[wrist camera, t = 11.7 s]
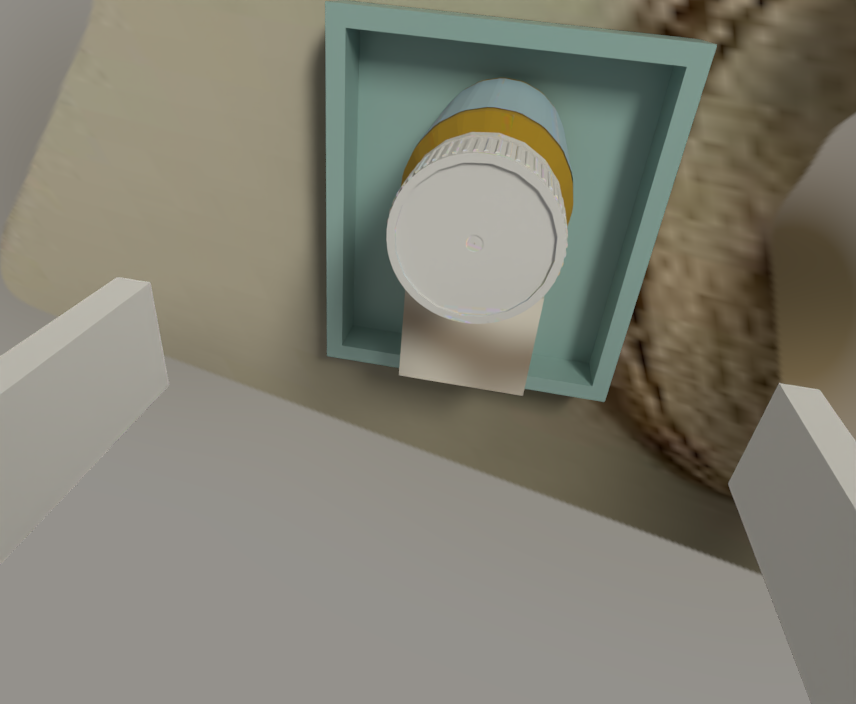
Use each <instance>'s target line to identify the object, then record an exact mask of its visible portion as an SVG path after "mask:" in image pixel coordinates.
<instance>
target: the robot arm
mask: <svg viewBox="0 0 856 704" xmlns="http://www.w3.org/2000/svg"><path fill="white" fill-rule="evenodd" d="M168 386H169V380H168V375H167V369H166V365H165V359H164V353H163V348H162V342H161V337H160V331H159V326H158V320H157V315H156V310H155V304H154V299H153V293H152V288H151V282H146V281H139V280H133V279H127V278H121V277H117V278H115V279H114V280H112V281H111V282H109V283H108V284H106V285H105V286H103V287H102V288H100V289H99V290H97V291H96V292H94V293H93V294H92V295H90V296H89V297H87V298H86V299H84V300H83V301H81V302H80V303H78V304H77V305H75V306H74V307H72V308H71V309H69V310H68V311H66V312H65V313H63V314H62V315H60V316H59V317H58V318H56V319H55V320H53V321H52V322H50V323H49V324H47V325H46V326H44V327H43V328H41V329H40V330H38V331H37V332H35V333H34V334H33V335H31V336H30V337H28V338H27V339H25V340H24V341H22V342H21V343H19V344H18V345H16V346H15V347H13V348H12V349H10V350H9V351H8V352H6V353H4V354H3V355H2V356H0V565H1V564H2V563H3V561H4V560H5V559H6V558H7V557H8V556H9V555H10V554H11V553H12V552H13V551H14V550H15V549H16V548H17V547H18V545H19V544H20V543H21V542H22V541H23V540H24V539H25V538H26V537H27V536H28V535H29V534H30V533H31V532H32V531H33V530H34V529H35V527H36V526H37V525H38V524H39V523H40V522H41V521H42V520H43V519H44V518H45V517H46V516H47V515H48V514H49V513H50V511H51V510H52V509H53V508H54V507H55V506H56V505H57V504H58V503H59V502H60V501H61V500H62V499H63V498H64V497H65V496H66V495H67V493H68V492H69V491H70V490H71V489H72V488H73V487H74V486H75V485H76V484H77V483H78V482H79V481H80V480H81V479H82V478H83V476H84V475H85V474H86V473H87V472H88V471H89V470H90V469H91V468H92V467H93V466H94V465H95V464H96V463H97V462H98V460H100V458H101V457H102V456H103V455H104V454H105V453H106V452H107V451H108V450H109V449H110V448H111V447H112V446H113V445H114V444H115V443H116V441H117V440H118V439H119V438H120V437H121V436H122V435H123V434H124V433H125V432H126V431H127V430H128V429H129V428H130V427H131V425H132V424H133V423H134V422H135V421H136V420H137V419H138V418H139V417H140V416H141V415H142V414H143V413H144V412H145V411H146V410H147V408H148V407H149V406H150V405H151V404H152V403H153V402H154V401H155V400H156V399H157V398H158V397H159V396H160V395H161V394H162V393H163V392H164V390H165V389H166V388H167V387H168ZM728 485H729V488H730V491H731V493H732V496H733V499H734V501H735V504H736V507H737V509H738V512H739V514H740V517H741V520H742V522H743V525H744V528H745V530H746V533H747V536H748V538H749V541H750V544H751V546H752V549H753V552H754V554H755V557H756V559H757V562H758V565H759V567H760V570H761V573H762V575H763V578H764V580H765V583H766V586H767V589H768V591H769V594H770V596H771V599H772V602H773V604H774V607H775V610H776V612H777V615H778V618H779V620H780V623H781V626H782V628H783V631H784V633H785V636H786V639H787V641H788V644H789V647H790V649H791V652H792V655H793V657H794V660H795V663H796V665H797V668H798V671H799V673H800V676H801V678H802V681H803V683H804V686H805V689H806V691H807V694H808V697H809V700H810V702H811V704H856V441H855V439H854V438H853V437H852V435H851V434H850V432H849V431H848V429H847V428H846V427H845V425H844V424H843V422H842V421H841V420H840V418H839V417H838V415H837V414H836V412H835V411H834V410H833V408H832V406H831V405H830V404H829V402H828V401H827V399H826V398H825V397H824V395H823V394H822V392H821V391H820V390H819V389H813V388H807V387H801V386H795V385H788V384H782V383H779V384H778V386H777V388H776V390H775V392H774V394H773V396H772V398H771V400H770V402H769V404H768V406H767V408H766V410H765V412H764V414H763V416H762V418H761V420H760V422H759V424H758V425H757V427H756V429H755V431H754V433H753V435H752V437H751V439H750V441H749V443H748V445H747V447H746V449H745V451H744V453H743V455H742V457H741V459H740V461H739V463H738V465H737V467H736V469H735V471H734V473H733V475H732V477H731V479H730V481H729V483H728Z"/></svg>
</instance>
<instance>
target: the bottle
mask: <svg viewBox="0 0 856 704" xmlns="http://www.w3.org/2000/svg"><path fill="white" fill-rule="evenodd" d="M392 205H393V206H392V207H391V209H390V211H389V214H390V215H389V218H388V219H387V229H386V233H387V235H386V236H387V238H386V242H387V250H388V255H389V259H390V262H391V265H392V268H393V270H394V272H395V274H396V276H397V278H398V280H399V281H400V283H401V284H402V286H403V287H404V288H405V290H406V291H407V292H408V293H409V294H410V295H411V296H412V297H413V298H414V299H415V300H416V301H417V302H418V303H419V304H421V305H422V306H423V307H425V308H426V309H428V310H430V311H431V312H433V313H435V314H437V315H439V316H441V317H444V318H447V319H450V320H453V321H457V322H462V323H470V324H486V323H494V322H499V321H503V320H506V319H509V318H512V317H514V316H517V315H519V314H521V313H522V312H524V311H526V310H527V309H529V308H530V307H532V306H533V305H534V304H536V303H537V302H538V301H539V300H540V299H541V298H542V297H543V296H544V295H545V294H546V293H547V292H548V291H549V289H550V288H551V286H552V285H553V284H554V283H555V281H556V278H557V276H558V275H559V274H560V270H561V267H562V266H563V264H564V261H563V260H564V258H565V257H566V248H567V246H568V242H567V238H568V230H567V227H568V224H569V221H570V217H571V214H572V211H573V177H572V171H571V166H570V160H569V155H568V149H567V144H566V138H565V133H564V128H563V125H562V122H561V120H560V117H559V114H558V112H557V110H556V109H555V107H554V106H553V104H552V103H551V102H550V101H549V99H548V98H547V97H546V96H545V95H544V94H543V93H542V92H541V91H540V90H538V89H536V88H535V87H533V86H531V85H530V84H528V83H526V82H524V81H521V80H516V79H511V78H503V77H500V78H493V79H486V80H482V81H479V82H477V83H475V84H473V85H472V86H470V87H468V88H466V89H464V90H463V91H462V92H460V93H459V94H458V95H457V96H456V97H455V98H454V99H453V100H452V101H451V102H450V103H449V104H448V105H447V107H446V108H445V109H444V110H443V112H442V113H441V114H440V116H439V117H438V118H437V119H436V121H435V122H434V123H433V125H432V126H431V127H430V128H429V130H428V131H427V132H426V134H425V135H424V136H423V137H422V139H421V140H420V141H419V143H418V144H417V146H416V147H415V149H414V151H413V152H412V155H411V157H410V159H409V161H408V163H407V165H406V167H405V169H404V172H403V176H402V183H401V188H400V189H399V191H398V192H397V194H396V197H395V199H394V200H393V202H392Z"/></svg>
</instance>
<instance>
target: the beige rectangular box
mask: <svg viewBox="0 0 856 704" xmlns="http://www.w3.org/2000/svg"><path fill="white" fill-rule="evenodd" d="M543 302H544V296H543V297H542V298H541V299H540V300H539V301H538V302H537V303H536V304H534V305H533V306H532V307H530V308H529V309H527V310H526V311H524V312H522V313H521V314H519V315H517V316H514V317H512V318H509V319H506V320H503V321H499V322H494V323H486V324H470V323H462V322H457V321H453V320H450V319H447V318H444V317H441V316H439V315H437V314H435V313H433V312H431V311H430V310H428V309H426V308H425V307H423V306H422V305H421V304H419V303H418V302H417V301H416V300H415V299H414V298H413V297H412V296H411V295H410V294H409V293H408V292H407V291H406V290H405V300H404V313H403V326H402V340H401V353H400V366H399V375H400V376H406V377H412V378H418V379H424V380H430V381H436V382H442V383H448V384H454V385H460V386H466V387H472V388H478V389H484V390H490V391H496V392H502V393H508V394H514V395H520V396H523V393H524V389H525V384H526V379H527V375H528V370H529V366H530V361H531V357H532V352H533V348H534V343H535V338H536V334H537V329H538V325H539V320H540V316H541V311H542V307H543Z"/></svg>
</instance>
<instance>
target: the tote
mask: <svg viewBox="0 0 856 704" xmlns="http://www.w3.org/2000/svg"><path fill="white" fill-rule="evenodd" d="M716 47H717V44H714V43H710V42H707V41H704V40H700V39H693V38H684V37H675V36H666V35H657V34H648V33H638V32H629V31H620V30H611V29H602V28H593V27H584V26H575V25H566V24H557V23H548V22H538V21H529V20H520V19H511V18H502V17H493V16H484V15H475V14H466V13H457V12H448V11H438V10H429V9H420V8H411V7H402V6H393V5H384V4H375V3H366V2H357V1H348V0H342V1H325V53H326V263H327V356H329V357H335V358H341V359H347V360H354V361H360V362H366V363H372V364H378V365H384V366H390V367H396V368H399V366H400V353H401V340H402V326H403V313H404V300H405V288H404V287H403V286H402V284H401V283H400V281H399V280H398V278H397V276H396V274H395V272H394V270H393V268H392V265H391V262H390V259H389V255H388V250H387V242H386V238H387V236H386V235H387V233H386V229H387V219H388V218H389V215H390V214H389V211H390V209H391V207H392V206H393V205H392V202H393V200H394V199H395V197H396V194H397V192H398V191H399V189H400V188H401V183H402V176H403V172H404V169H405V167H406V165H407V163H408V161H409V159H410V157H411V155H412V152H413V151H414V149H415V147H416V146H417V144H418V143H419V141H420V140H421V139H422V137H423V136H424V135H425V134H426V132H427V131H428V130H429V128H430V127H431V126H432V125H433V123H434V122H435V121H436V119H437V118H438V117H439V116H440V114H441V113H442V112H443V110H444V109H445V108H446V107H447V105H448V104H449V103H450V102H451V101H452V100H453V99H454V98H455V97H456V96H457V95H458V94H459V93H460V92H462V91H463V90H464V89H466V88H468V87H470V86H472V85H473V84H475V83H477V82H479V81H482V80H486V79H493V78H500V77H503V78H511V79H516V80H521V81H524V82H526V83H528V84H530V85H531V86H533V87H535V88H536V89H538V90H540V91H541V92H542V93H543V94H544V95H545V96H546V97H547V98H548V99H549V101H550V102H551V103H552V104H553V106H554V107H555V109H556V110H557V112H558V114H559V117H560V120H561V122H562V125H563V128H564V133H565V138H566V144H567V149H568V155H569V160H570V166H571V171H572V177H573V211H572V214H571V217H570V221H569V224H568V227H567V230H568V238H567V242H568V246H567V248H566V257H565V258H564V260H563V261H564V264H563V266H562V267H561V270H560V274H559V275H558V276H557V278H556V281H555V283H554V284H553V285H552V286H551V288H550V289H549V291H548V292H547V293H546V294H545V295H544V302H543V307H542V311H541V316H540V320H539V325H538V329H537V334H536V338H535V343H534V348H533V352H532V357H531V361H530V366H529V370H528V375H527V379H526V384H525V389H529V390H535V391H541V392H547V393H553V394H560V395H566V396H572V397H578V398H584V399H590V400H596V401H602V402H605V399H606V396H607V393H608V390H609V387H610V383H611V380H612V377H613V374H614V371H615V367H616V364H617V361H618V358H619V355H620V352H621V348H622V345H623V342H624V339H625V336H626V333H627V329H628V326H629V323H630V320H631V317H632V314H633V310H634V307H635V304H636V301H637V298H638V295H639V291H640V288H641V285H642V282H643V279H644V275H645V272H646V269H647V266H648V263H649V260H650V256H651V253H652V250H653V247H654V244H655V241H656V237H657V234H658V231H659V228H660V225H661V222H662V218H663V215H664V212H665V209H666V206H667V203H668V199H669V196H670V193H671V190H672V187H673V183H674V180H675V177H676V174H677V171H678V168H679V164H680V161H681V158H682V155H683V152H684V149H685V145H686V142H687V139H688V136H689V133H690V130H691V126H692V123H693V120H694V117H695V114H696V110H697V107H698V104H699V101H700V98H701V95H702V91H703V88H704V85H705V82H706V79H707V76H708V72H709V69H710V66H711V63H712V60H713V57H714V53H715V50H716Z"/></svg>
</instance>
